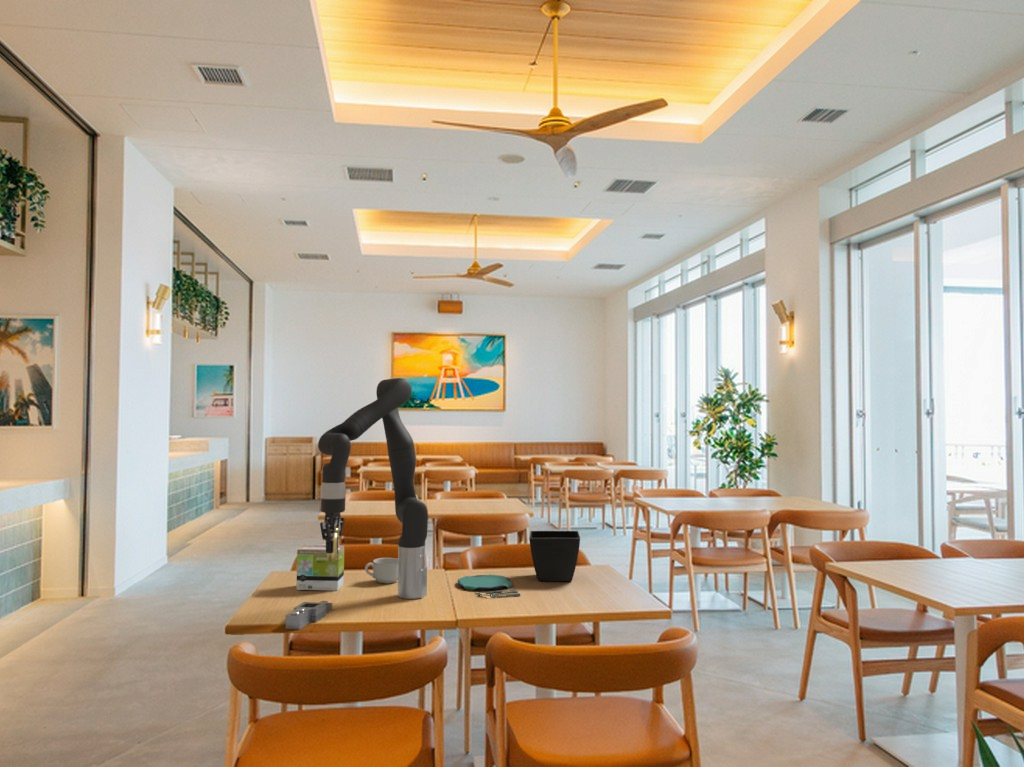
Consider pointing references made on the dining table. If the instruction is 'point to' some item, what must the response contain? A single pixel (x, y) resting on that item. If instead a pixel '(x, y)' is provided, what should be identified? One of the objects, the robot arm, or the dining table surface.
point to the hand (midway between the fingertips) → (331, 551)
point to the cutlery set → (487, 584)
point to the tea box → (319, 569)
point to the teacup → (384, 570)
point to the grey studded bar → (307, 614)
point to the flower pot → (554, 554)
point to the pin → (333, 555)
